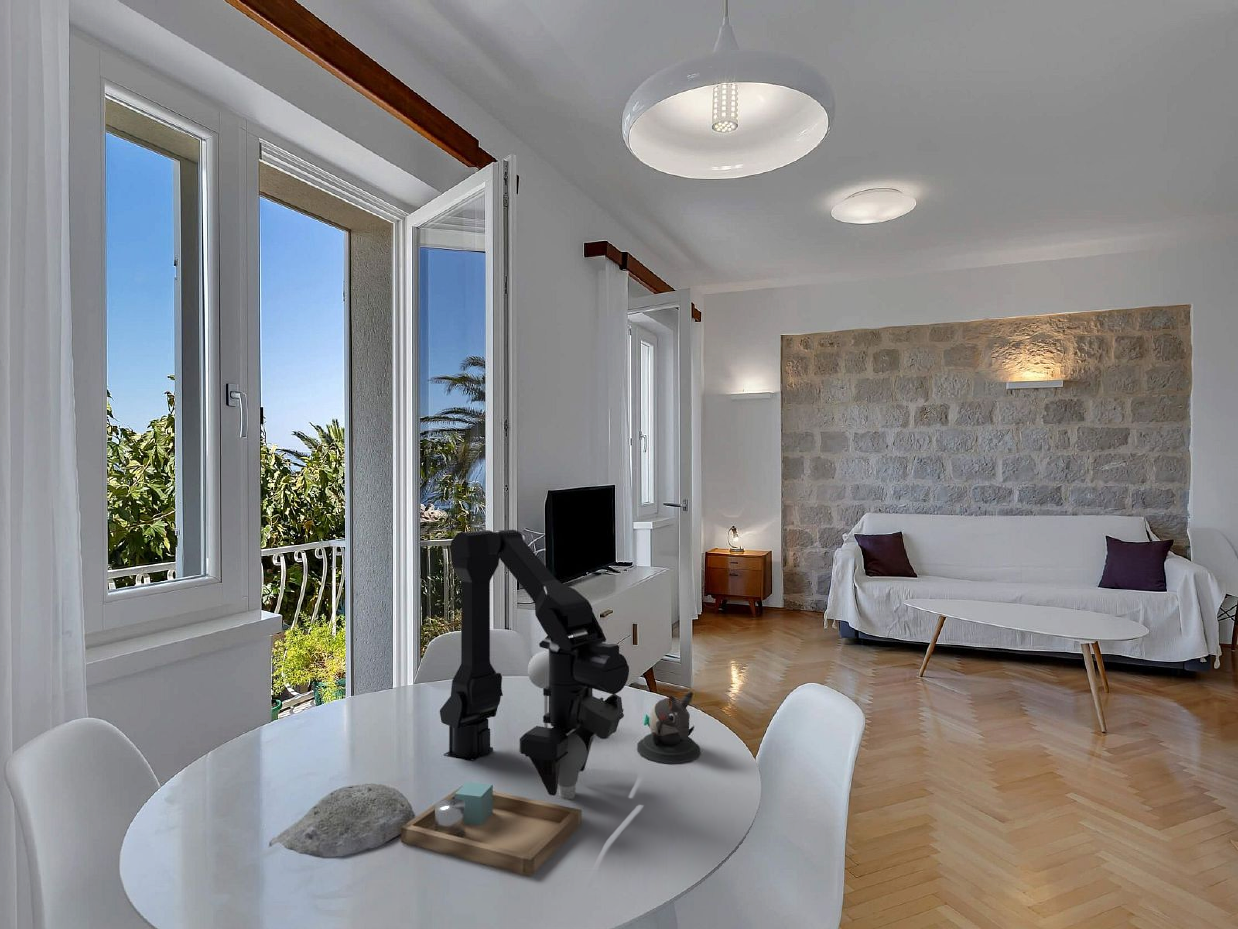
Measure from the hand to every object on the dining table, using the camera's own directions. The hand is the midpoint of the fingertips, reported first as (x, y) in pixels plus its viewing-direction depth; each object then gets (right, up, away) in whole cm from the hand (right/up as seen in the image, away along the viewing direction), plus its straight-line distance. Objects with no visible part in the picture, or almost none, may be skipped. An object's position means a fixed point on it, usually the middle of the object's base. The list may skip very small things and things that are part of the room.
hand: (567, 782), depth 107 cm
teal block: (-13, -2, -7) cm, 15 cm away
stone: (-29, -3, -9) cm, 31 cm away
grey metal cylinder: (-15, -2, -12) cm, 19 cm away
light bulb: (0, -3, 0) cm, 3 cm away
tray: (-9, -2, -11) cm, 15 cm away
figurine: (+17, -3, +19) cm, 25 cm away
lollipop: (-6, -3, +30) cm, 31 cm away
